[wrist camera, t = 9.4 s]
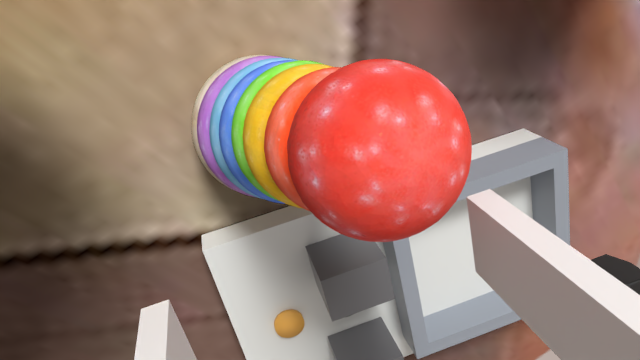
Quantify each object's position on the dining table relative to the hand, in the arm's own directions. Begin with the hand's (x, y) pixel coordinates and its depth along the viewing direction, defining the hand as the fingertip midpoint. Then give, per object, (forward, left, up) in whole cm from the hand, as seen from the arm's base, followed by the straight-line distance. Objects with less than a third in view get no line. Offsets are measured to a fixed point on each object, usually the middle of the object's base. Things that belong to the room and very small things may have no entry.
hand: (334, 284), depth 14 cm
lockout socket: (+12, -12, -15) cm, 23 cm away
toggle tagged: (+2, -17, -15) cm, 23 cm away
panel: (+6, -13, -17) cm, 23 cm away
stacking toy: (0, 0, -17) cm, 17 cm away
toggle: (+2, -10, -15) cm, 18 cm away
